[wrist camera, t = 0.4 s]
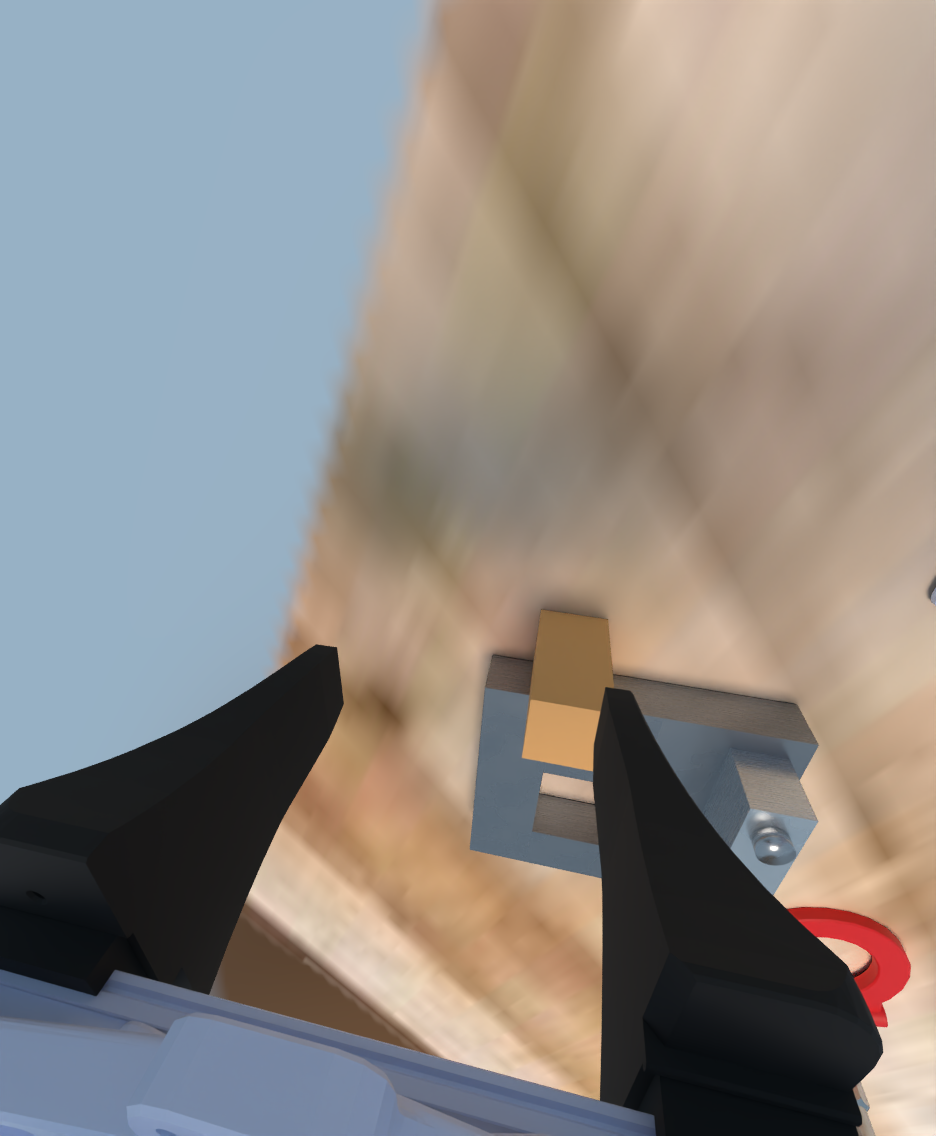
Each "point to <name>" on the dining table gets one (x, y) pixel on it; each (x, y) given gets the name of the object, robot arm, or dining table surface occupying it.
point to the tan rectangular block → (567, 689)
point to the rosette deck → (693, 749)
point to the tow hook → (877, 980)
